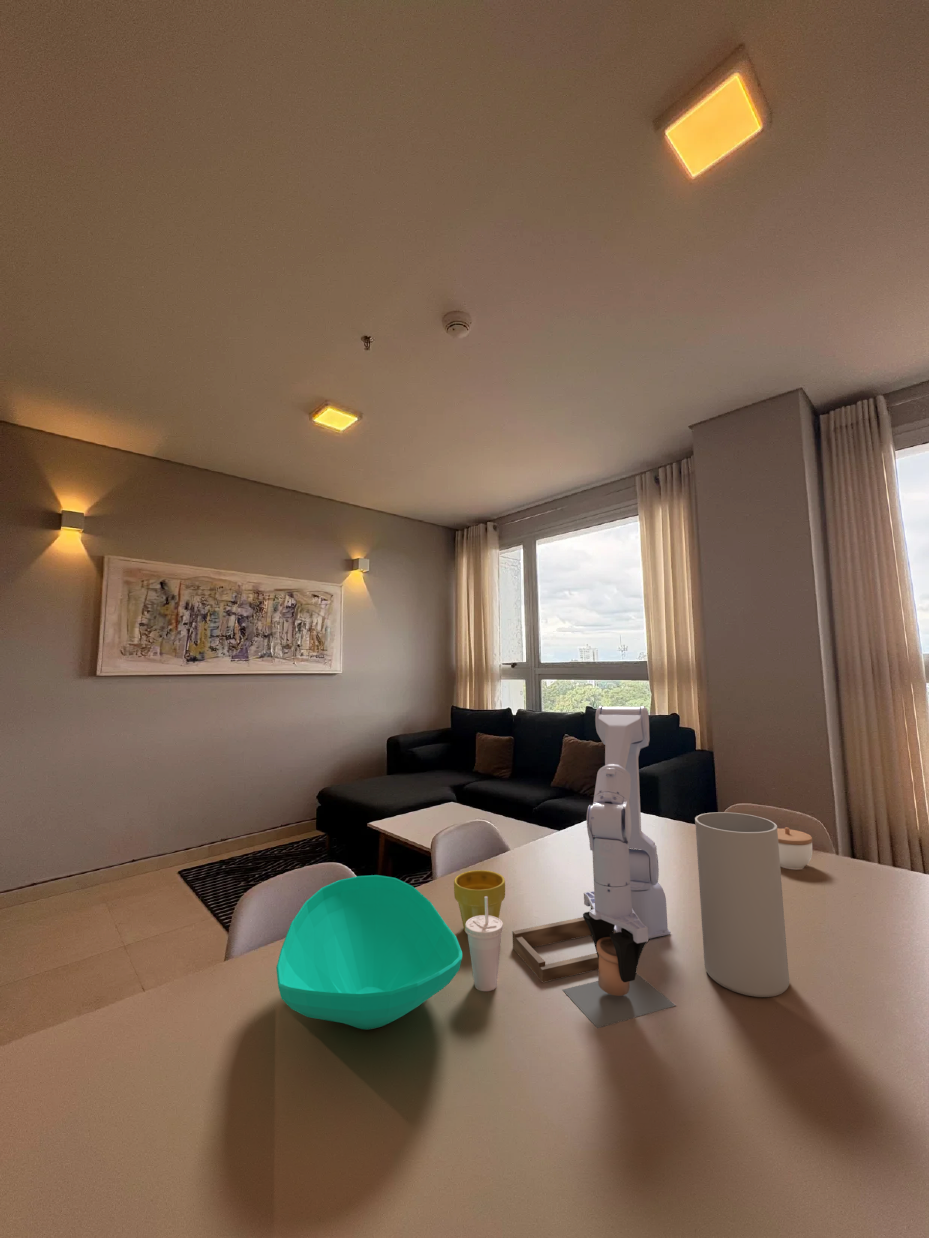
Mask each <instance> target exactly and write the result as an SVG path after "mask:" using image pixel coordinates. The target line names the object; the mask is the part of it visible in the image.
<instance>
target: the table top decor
mask: <svg viewBox="0 0 929 1238" xmlns="http://www.w3.org/2000/svg"><path fill="white" fill-rule="evenodd" d="M462 960H463V951H462V948H461V945H460V942H459V940H458V937H457V936H456V935H455V933H454V932H453V931H452V929H451V928H450V927H449V926H448V925H447V923H446V922H445V920H444V919H443V917H442V916H441V914H440V913H439V911H437V908H435V906H434V905H433V903H432V902H431V901H430V900H429V899H428V898H427V897H426V896H425V895H424V894H422V893H421V892H420V891H419V890H418V889H417V888H415V887H414V886H413V885H411V884H409V883H407V882H405V881H403V880H400V879H399V878H396V877H392V876H386V875H379V874H374V875H373V874H371V875H357V876H354V877H353V876H352V877H347V878H343V879H339V880H337V881H334V882H332V883H329V884H327V885H325V886H323V887H320V889H319V890H317V891H316V892H314V894H312V896H311V897H310V898H308V899H307V900H305V902H304V903H303V905H302V906H301V908H300V909H299V911H298V912H297V914H296V915H295V916H294V918H293V920H292V922H290V925H289V927H288V930H287V932H286V935H285V938H284V941H283V943H282V946H281V949H280V953H279V956H278V960H277V962H276V964H277V965H276V966H275V967H276V978H277V979H276V981H277V987H278V990H279V991H278V992H279V994H280V998H281V1000H282V1001H283V1002H284V1003H285V1004H286V1005H287V1006H288V1007H289V1008H290V1009H291V1010H292V1011H295V1012H297V1013H298V1014H300V1015H303V1016H305V1017H306V1018H310V1019H311V1018H312V1019H316V1020H321V1021H322V1020H323V1021H328V1022H333V1023H334V1022H335V1023H341V1024H345V1025H347V1026H351V1027H354V1028H357V1029H361V1030H373V1029H377V1028H381V1027H384V1026H386V1025H388V1024H391V1023H393V1022H394V1021H397V1020H398V1019H400V1018H401V1017H404V1016H405V1015H407V1014H408V1013H410V1012H411V1011H413V1010H415V1009H417V1008H418V1007H419V1006H420V1005H422V1004H424V1003H425V1002H427V1000H429V999H430V998H432V997H433V996H434V995H437V994H438V993H439V992H440V991H441V990H443V989H444V988H446V987H447V986H448V985H449V984H450V983H451V982H452V981H453V979H454V978H455V976H456V975H457V974H458V973H459V971H460V968H461V965H462Z"/></svg>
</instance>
